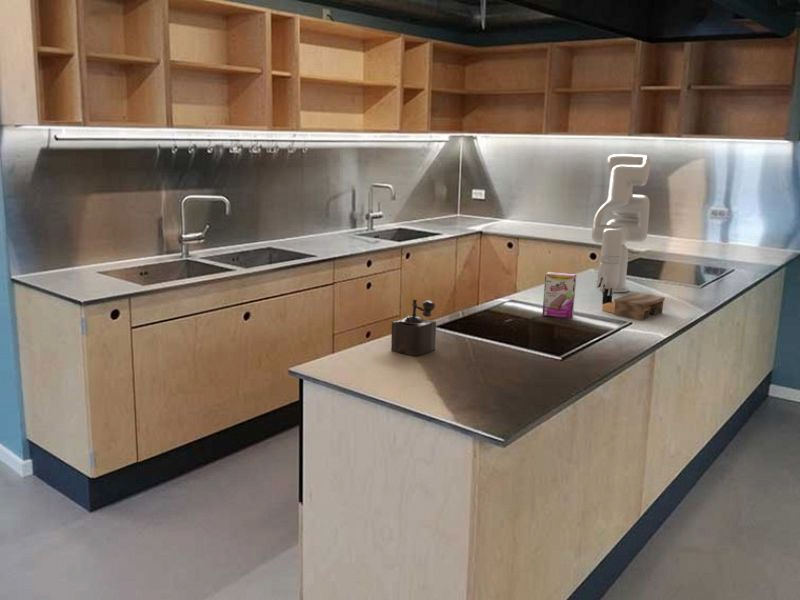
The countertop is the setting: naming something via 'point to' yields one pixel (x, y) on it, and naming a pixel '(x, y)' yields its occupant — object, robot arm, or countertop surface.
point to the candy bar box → (559, 295)
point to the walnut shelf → (638, 305)
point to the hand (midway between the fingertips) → (606, 304)
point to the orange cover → (611, 307)
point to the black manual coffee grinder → (414, 332)
